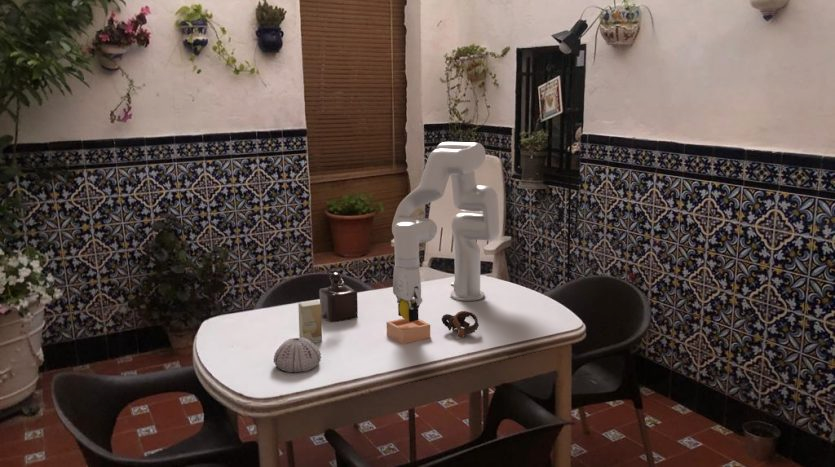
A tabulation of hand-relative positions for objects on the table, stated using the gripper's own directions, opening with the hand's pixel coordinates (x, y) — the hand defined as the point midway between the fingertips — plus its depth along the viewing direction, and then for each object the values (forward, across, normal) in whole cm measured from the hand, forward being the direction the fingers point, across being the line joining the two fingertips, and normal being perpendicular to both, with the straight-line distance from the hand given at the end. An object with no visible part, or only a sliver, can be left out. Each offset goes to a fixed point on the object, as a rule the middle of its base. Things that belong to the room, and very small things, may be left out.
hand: (408, 317), depth 214 cm
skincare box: (+6, -14, -27) cm, 31 cm away
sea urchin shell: (+6, +2, -38) cm, 39 cm away
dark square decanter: (+6, -28, -10) cm, 30 cm away
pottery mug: (+6, +7, +15) cm, 18 cm away
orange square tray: (+6, 0, 0) cm, 6 cm away
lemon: (+1, 0, 0) cm, 1 cm away
